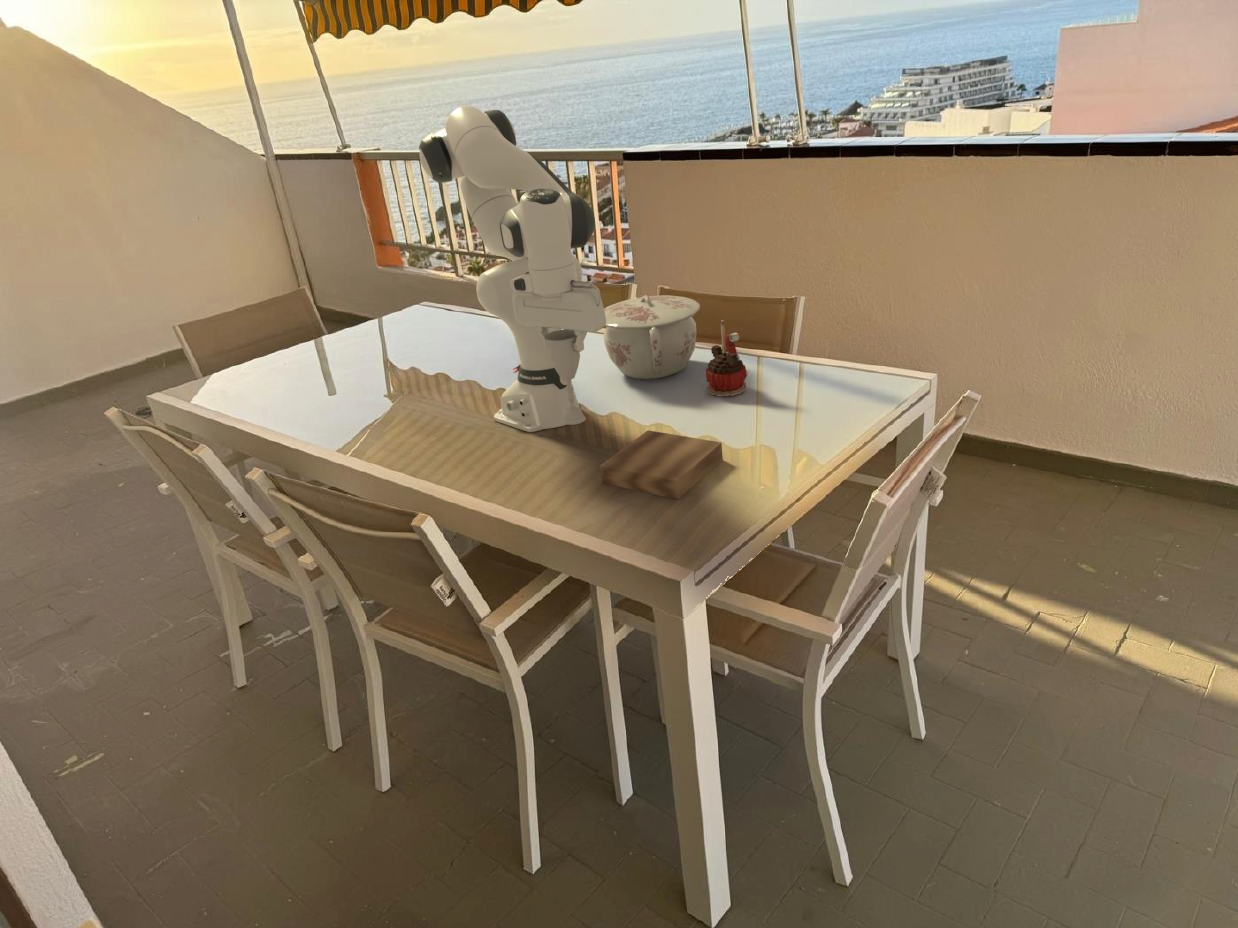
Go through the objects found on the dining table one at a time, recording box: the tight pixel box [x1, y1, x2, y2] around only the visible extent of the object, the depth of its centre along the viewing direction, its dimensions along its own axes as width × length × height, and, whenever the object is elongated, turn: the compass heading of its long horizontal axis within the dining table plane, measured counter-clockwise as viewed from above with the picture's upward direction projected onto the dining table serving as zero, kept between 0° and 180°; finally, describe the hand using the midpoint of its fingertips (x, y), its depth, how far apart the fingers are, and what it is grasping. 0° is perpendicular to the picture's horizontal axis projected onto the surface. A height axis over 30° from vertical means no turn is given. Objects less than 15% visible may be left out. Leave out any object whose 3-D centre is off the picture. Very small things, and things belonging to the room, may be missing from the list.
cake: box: [705, 319, 748, 397], centre depth 204 cm, size 11×9×18 cm
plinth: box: [599, 429, 724, 500], centre depth 172 cm, size 18×18×4 cm
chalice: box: [545, 329, 587, 426], centre depth 168 cm, size 7×7×18 cm
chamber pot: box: [603, 294, 701, 380], centre depth 223 cm, size 28×28×21 cm
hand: (564, 348), depth 166 cm, fingers closed on chalice, 6 cm apart
